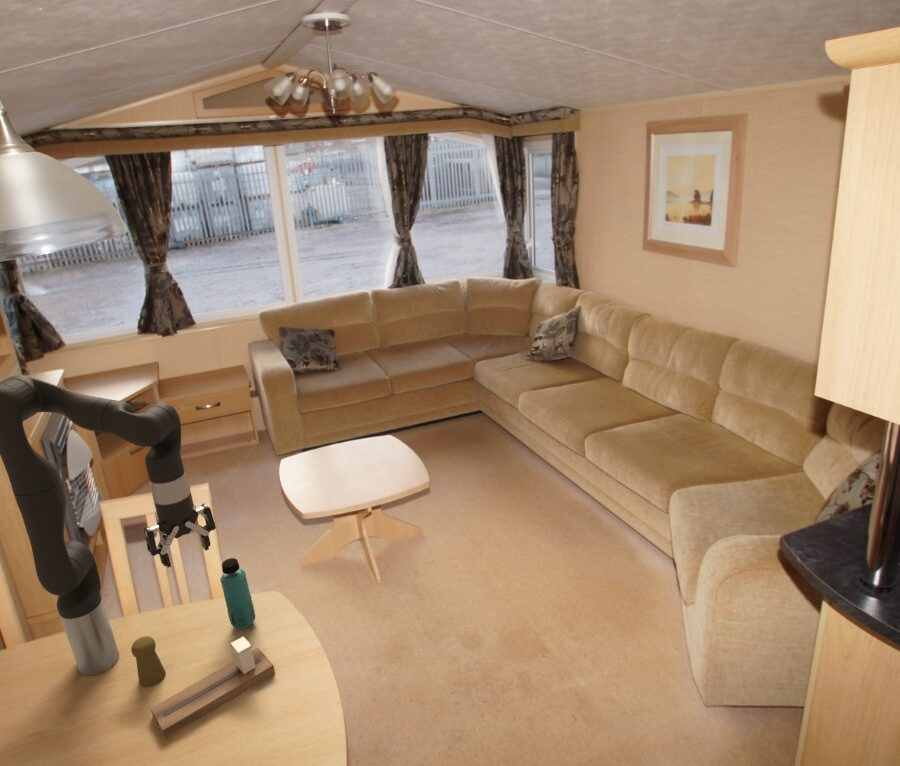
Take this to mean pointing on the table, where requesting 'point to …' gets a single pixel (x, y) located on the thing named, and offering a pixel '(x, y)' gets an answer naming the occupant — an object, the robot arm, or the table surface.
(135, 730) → the table surface
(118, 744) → the table surface
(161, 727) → the console track
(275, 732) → the table surface
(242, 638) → the fader tab
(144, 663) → the cork
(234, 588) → the beverage bottle
